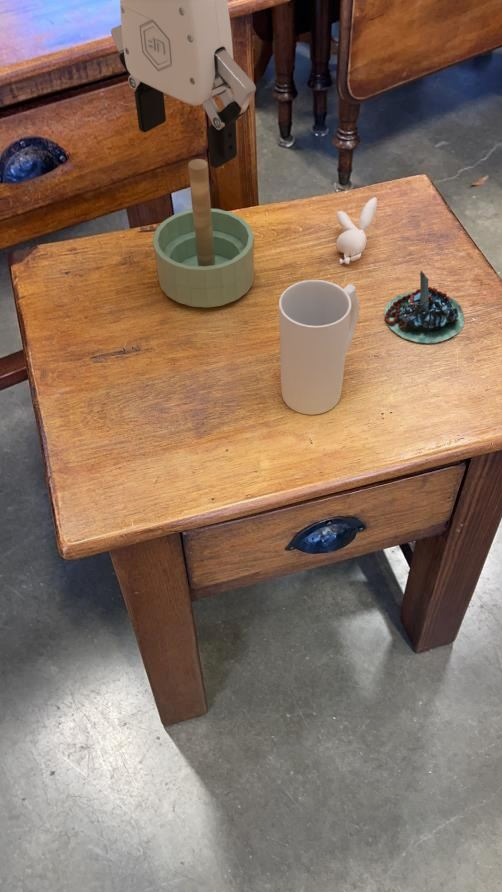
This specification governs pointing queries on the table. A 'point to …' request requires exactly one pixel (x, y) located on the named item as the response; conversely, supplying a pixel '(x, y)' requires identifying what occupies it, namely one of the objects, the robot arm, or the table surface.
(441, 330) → the dish
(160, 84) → the robot arm
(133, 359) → the table surface
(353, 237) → the rabbit figurine
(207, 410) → the table surface
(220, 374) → the table surface
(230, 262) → the bowl
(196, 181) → the stick
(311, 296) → the mug
